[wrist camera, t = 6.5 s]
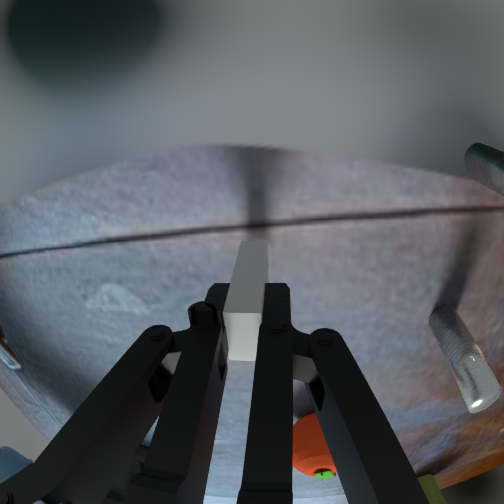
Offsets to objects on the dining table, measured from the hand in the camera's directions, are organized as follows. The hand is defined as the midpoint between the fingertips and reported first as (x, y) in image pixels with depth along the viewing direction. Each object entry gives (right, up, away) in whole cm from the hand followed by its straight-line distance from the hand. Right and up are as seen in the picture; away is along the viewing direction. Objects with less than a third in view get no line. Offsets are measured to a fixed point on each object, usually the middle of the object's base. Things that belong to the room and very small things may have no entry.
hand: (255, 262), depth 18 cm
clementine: (+7, -17, +10) cm, 21 cm away
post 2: (+15, -5, +3) cm, 16 cm away
